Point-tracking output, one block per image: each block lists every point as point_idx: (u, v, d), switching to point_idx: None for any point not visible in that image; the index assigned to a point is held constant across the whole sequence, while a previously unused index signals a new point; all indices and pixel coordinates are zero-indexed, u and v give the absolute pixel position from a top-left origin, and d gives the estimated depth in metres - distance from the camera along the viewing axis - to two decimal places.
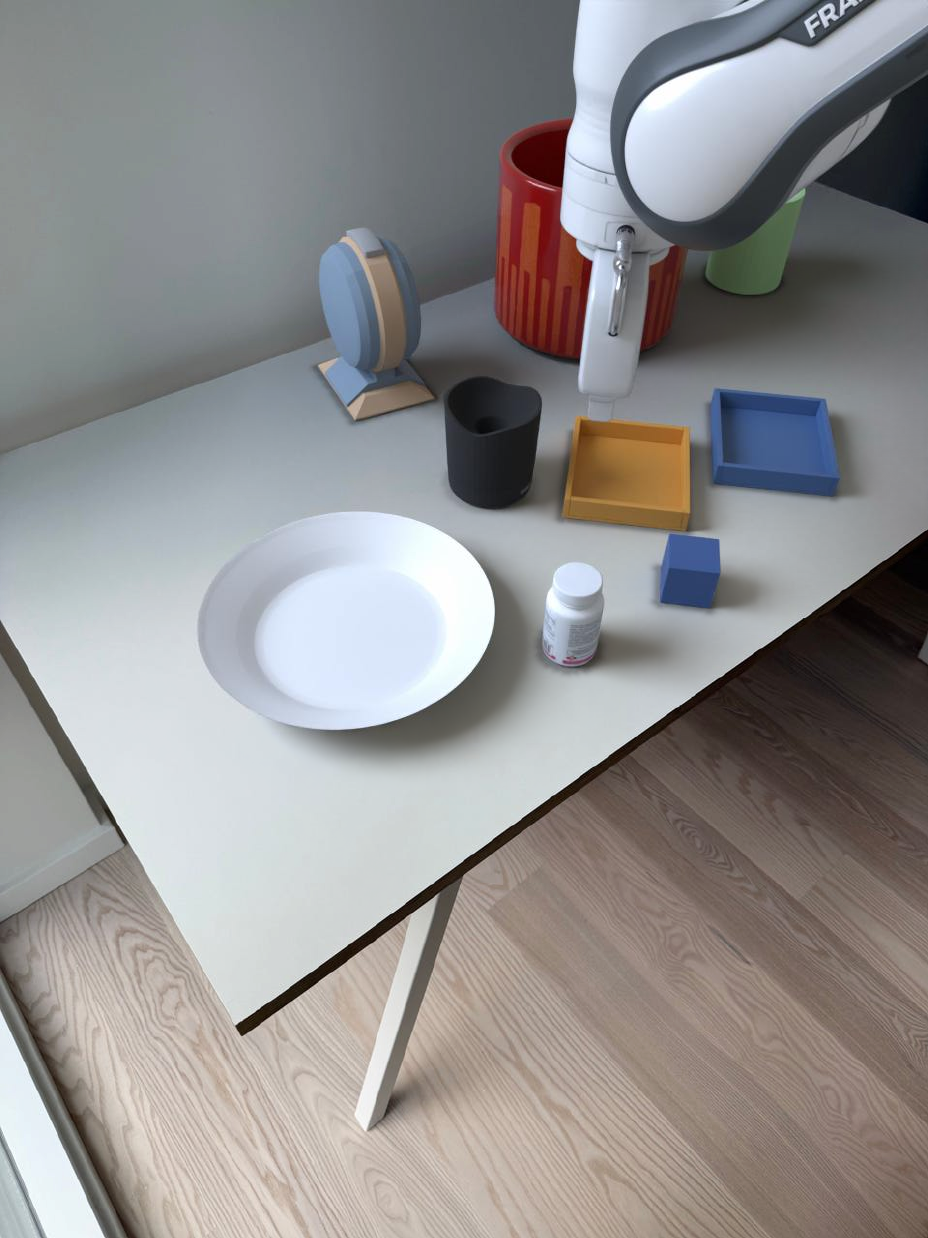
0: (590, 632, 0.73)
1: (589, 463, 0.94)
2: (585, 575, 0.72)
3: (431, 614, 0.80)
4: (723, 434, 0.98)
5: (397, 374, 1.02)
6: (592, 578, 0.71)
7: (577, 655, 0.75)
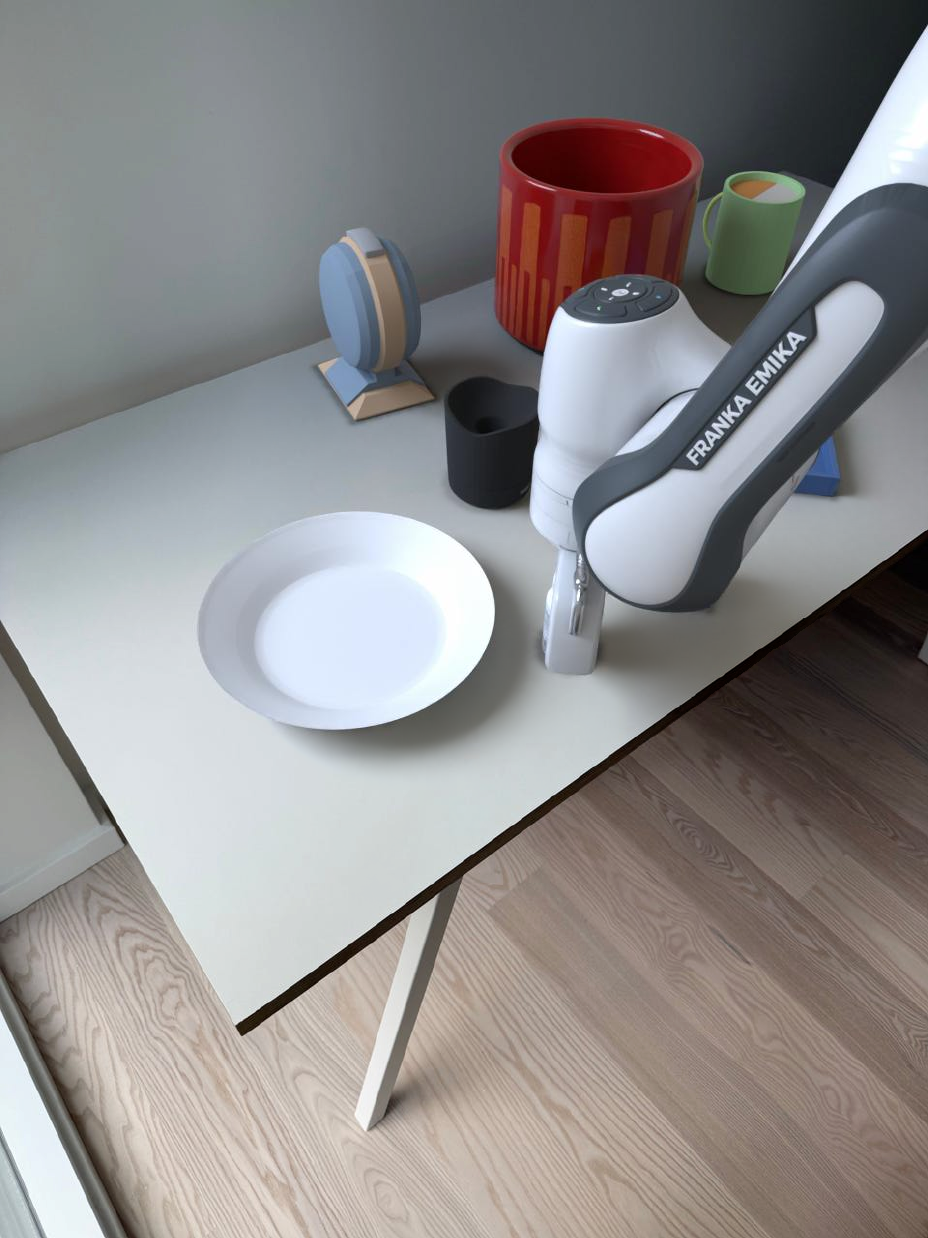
0: None
1: None
2: None
3: (431, 614, 0.80)
4: None
5: (397, 374, 1.02)
6: None
7: None
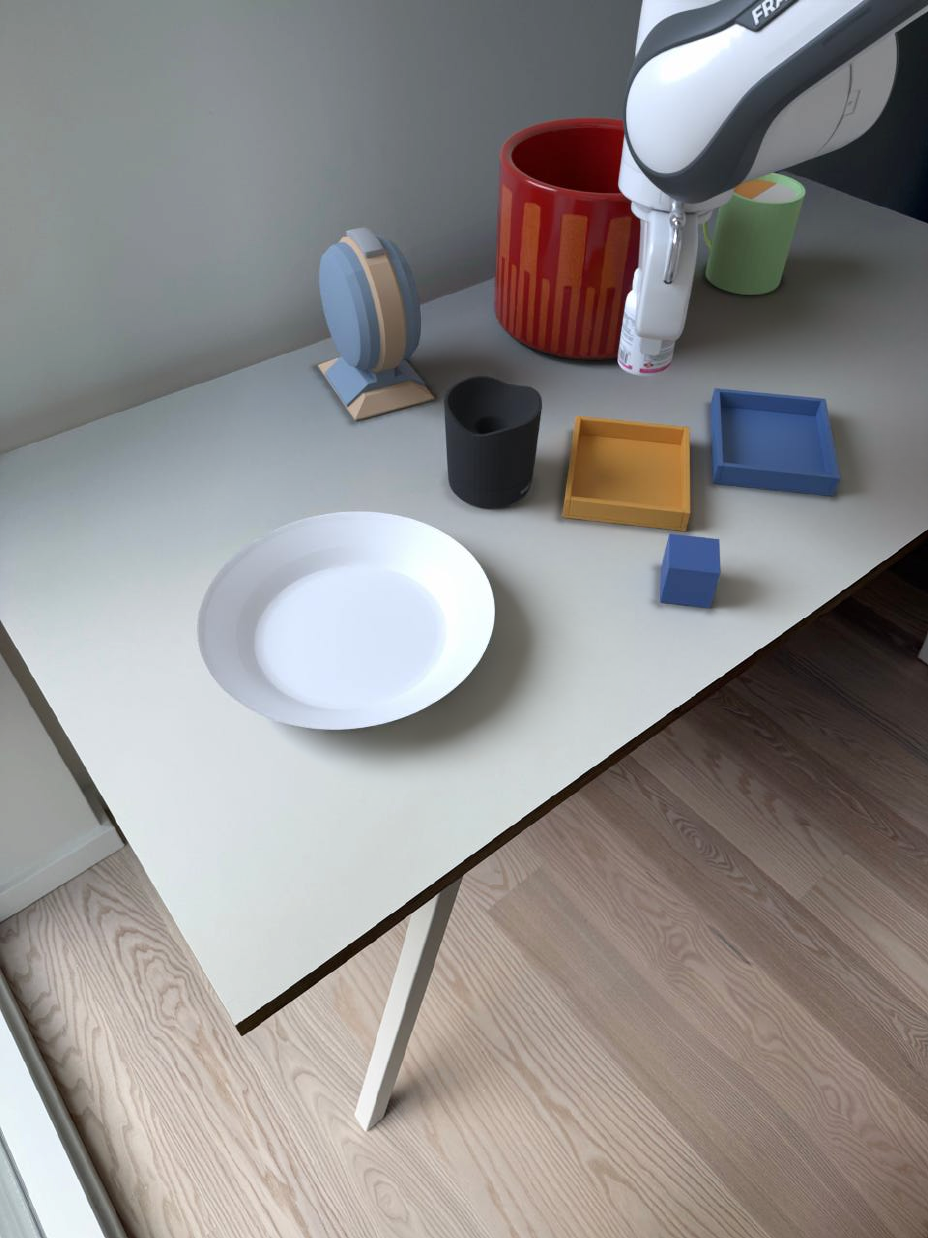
0: None
1: (589, 463, 0.94)
2: None
3: (431, 614, 0.80)
4: (723, 434, 0.98)
5: (397, 374, 1.02)
6: None
7: (654, 361, 0.77)
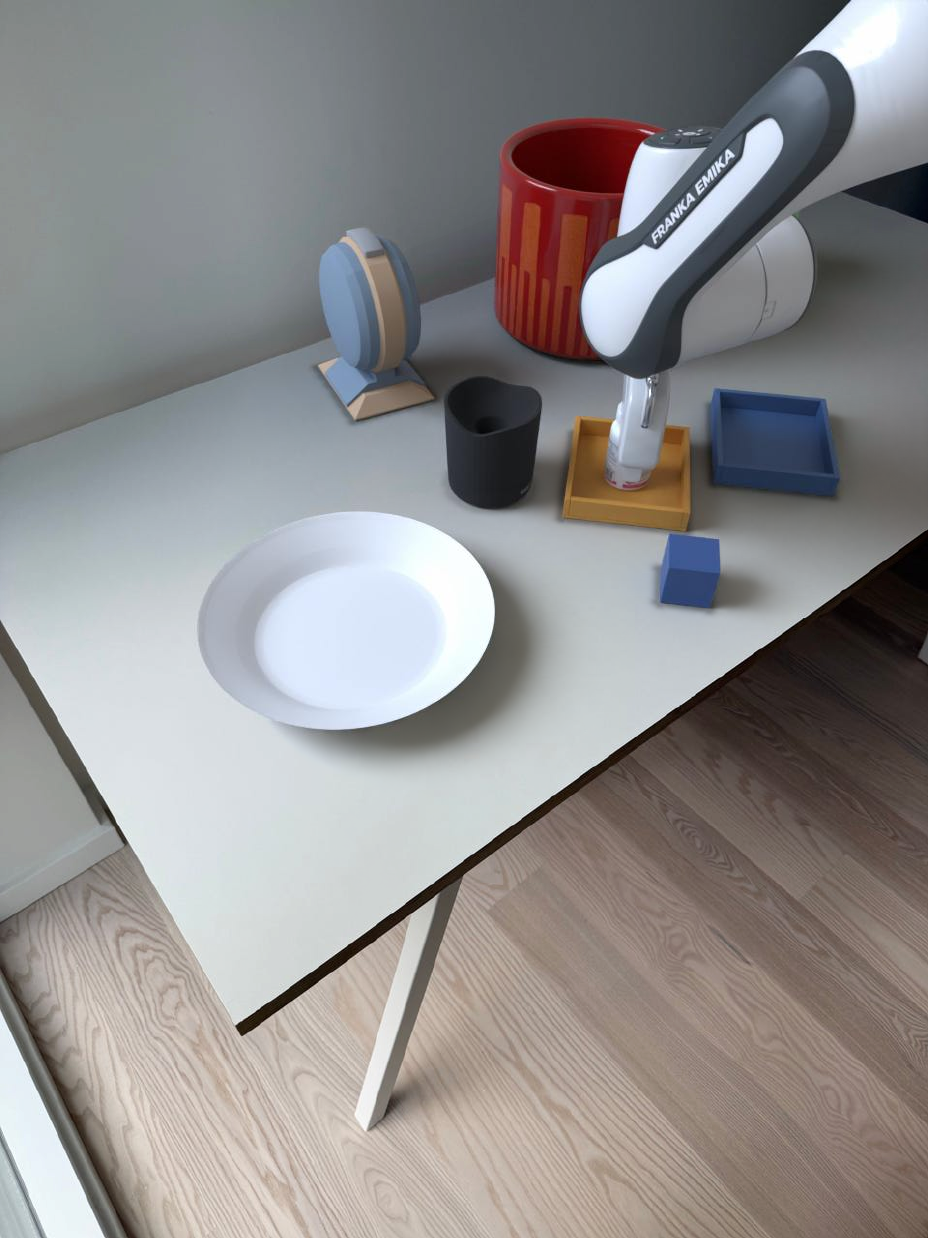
0: None
1: (589, 463, 0.94)
2: None
3: (431, 614, 0.80)
4: (723, 434, 0.98)
5: (397, 374, 1.02)
6: None
7: None
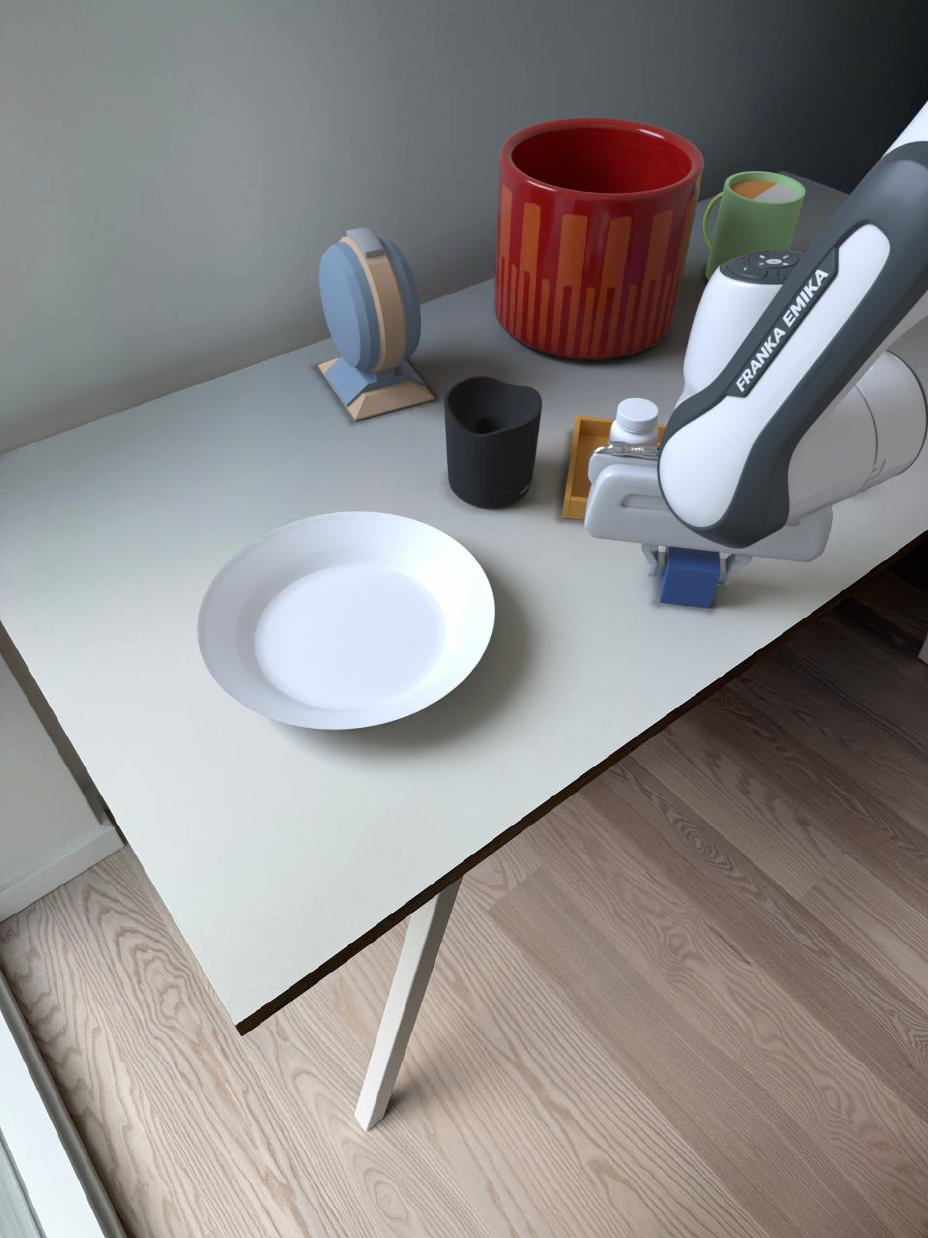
0: None
1: None
2: (643, 406, 0.87)
3: (431, 614, 0.80)
4: None
5: (397, 374, 1.02)
6: (650, 408, 0.87)
7: None
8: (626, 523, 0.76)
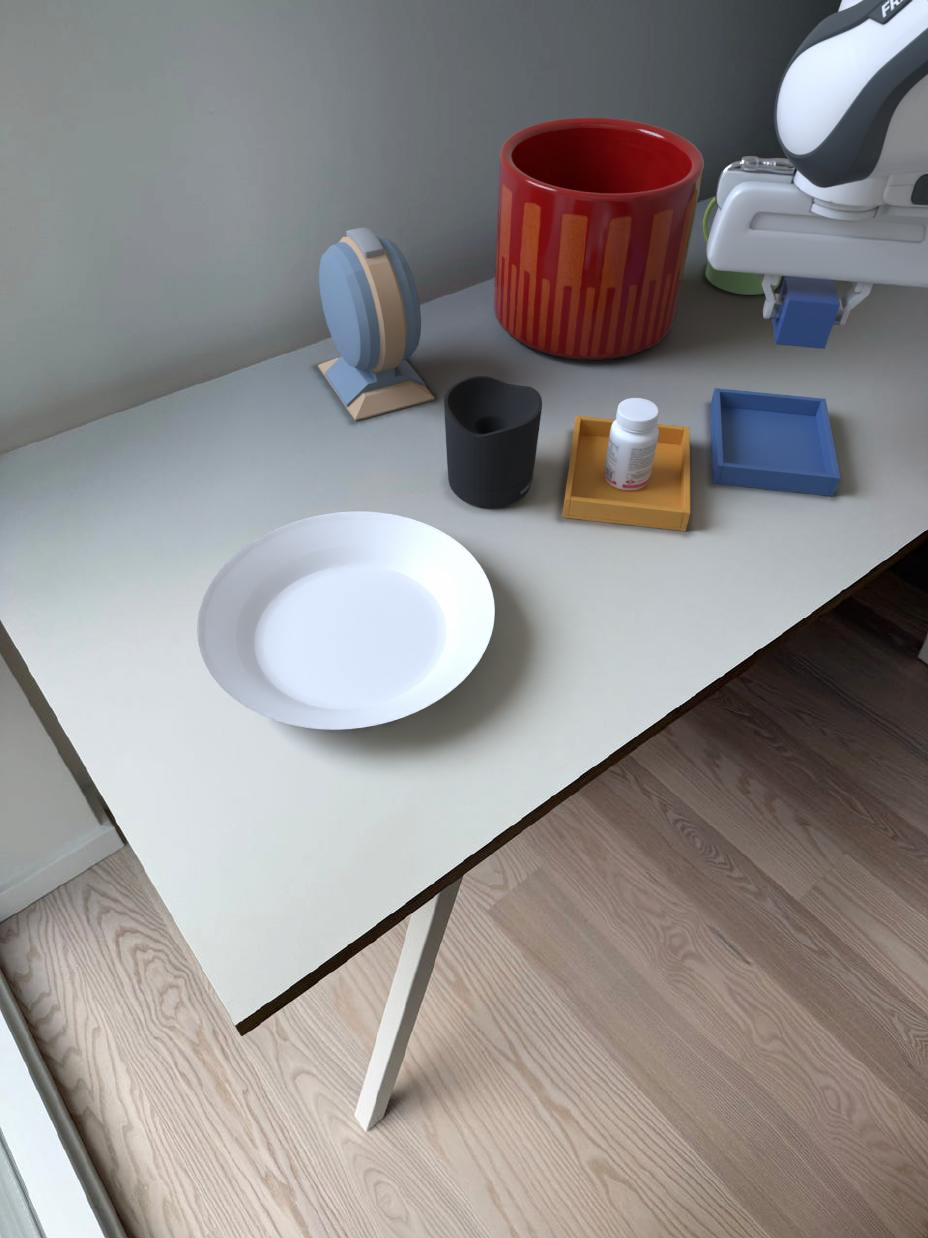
0: (647, 456, 0.88)
1: (589, 463, 0.94)
2: (643, 406, 0.87)
3: (431, 614, 0.80)
4: (723, 434, 0.98)
5: (397, 374, 1.02)
6: (650, 408, 0.87)
7: (635, 479, 0.90)
8: (751, 248, 0.78)
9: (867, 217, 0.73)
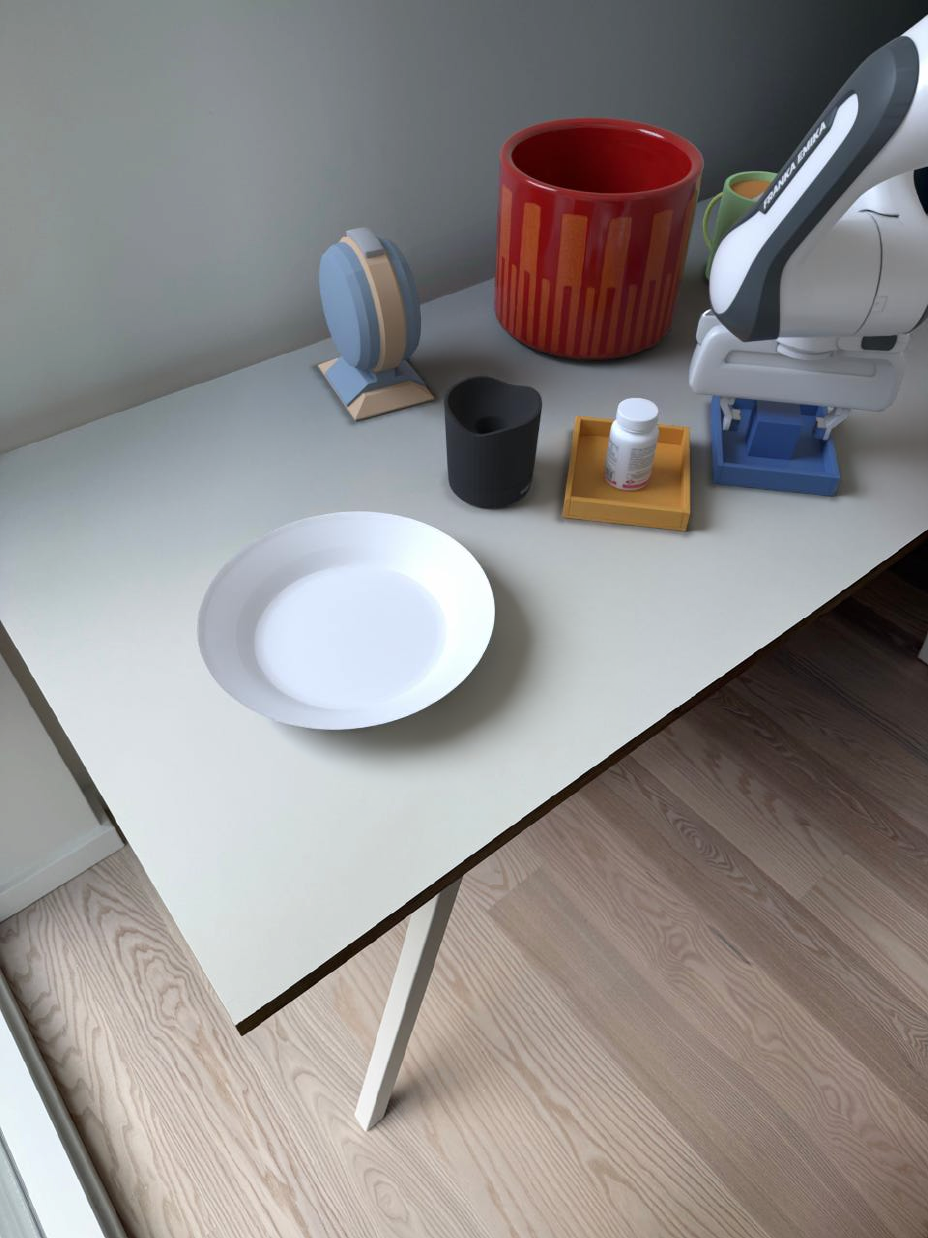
0: (647, 456, 0.88)
1: (589, 463, 0.94)
2: (643, 406, 0.87)
3: (431, 614, 0.80)
4: (723, 434, 0.98)
5: (397, 374, 1.02)
6: (650, 408, 0.87)
7: (635, 479, 0.90)
8: (727, 378, 0.90)
9: (825, 357, 0.85)
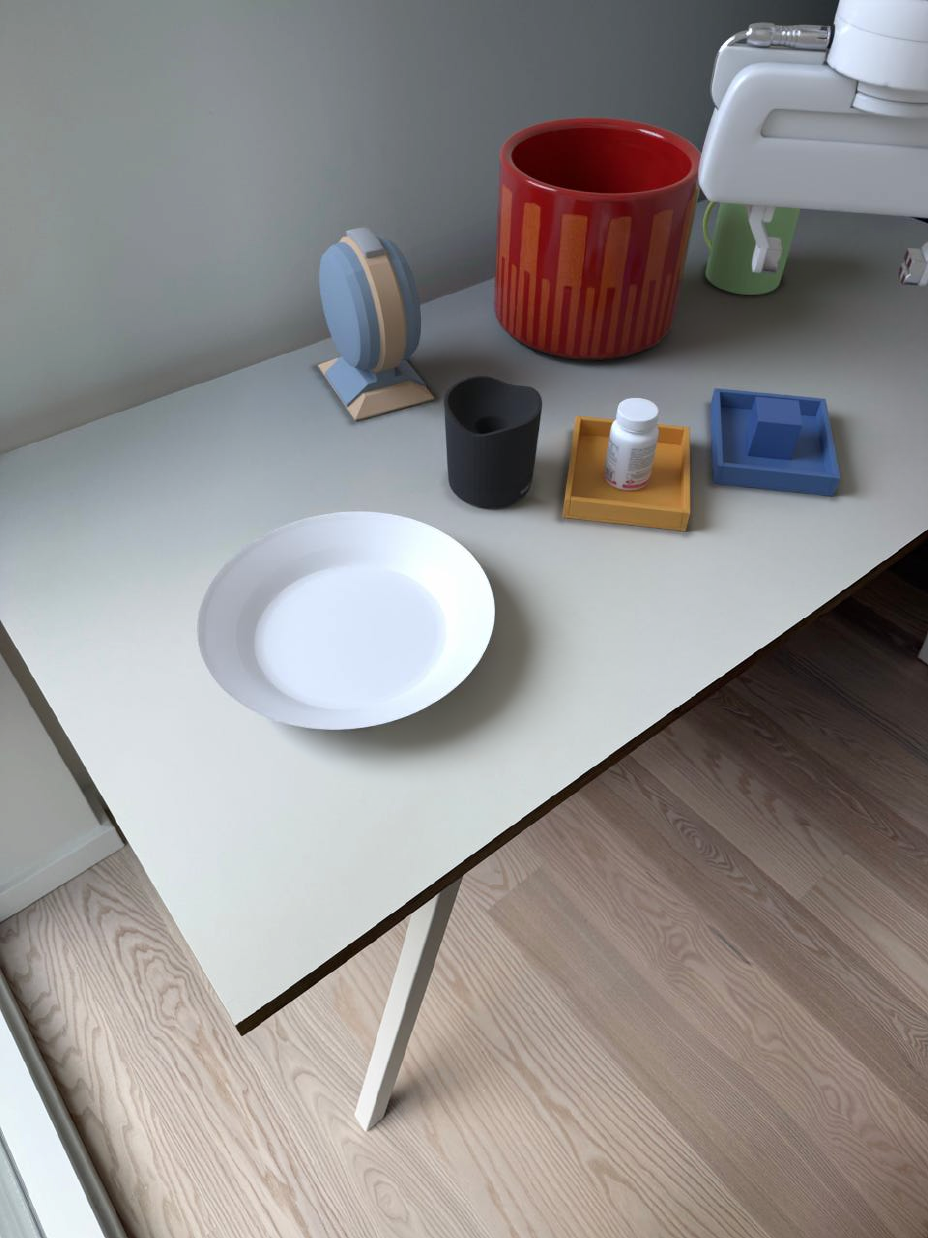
0: (647, 456, 0.88)
1: (589, 463, 0.94)
2: (643, 406, 0.87)
3: (431, 614, 0.80)
4: (723, 434, 0.98)
5: (397, 374, 1.02)
6: (650, 408, 0.87)
7: (635, 479, 0.90)
8: (763, 167, 0.53)
9: None
